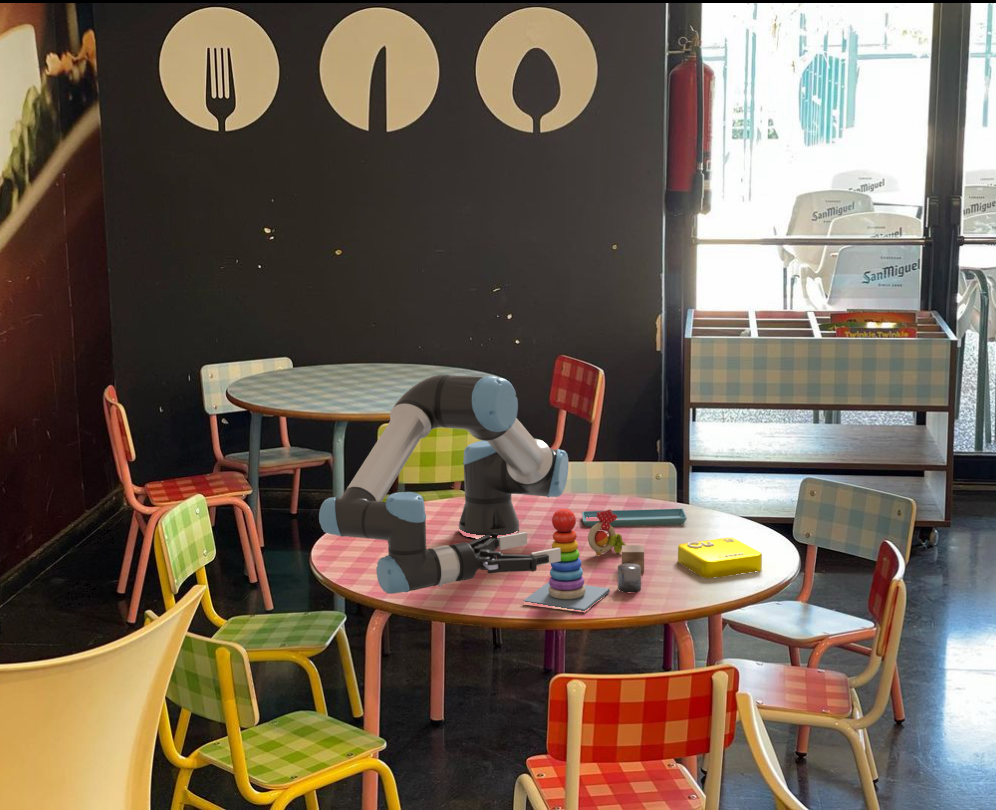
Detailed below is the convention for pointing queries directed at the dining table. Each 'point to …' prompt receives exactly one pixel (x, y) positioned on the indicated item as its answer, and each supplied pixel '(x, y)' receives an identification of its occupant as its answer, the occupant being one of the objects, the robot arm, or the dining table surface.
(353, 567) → the dining table surface
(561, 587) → the stacking toy
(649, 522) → the rectangular tray
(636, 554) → the walnut cube
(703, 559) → the element tile
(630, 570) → the graphite cylinder
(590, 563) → the dining table surface
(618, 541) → the bird rattle
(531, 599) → the pad
